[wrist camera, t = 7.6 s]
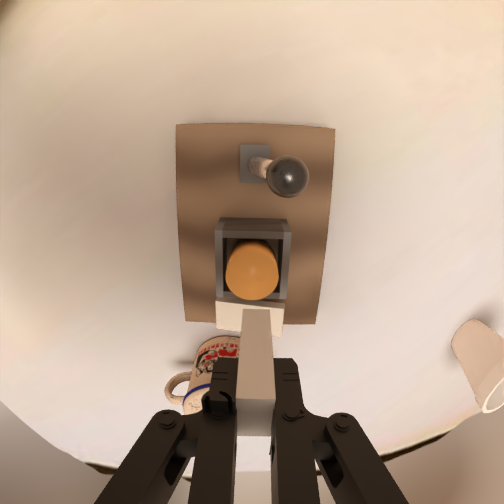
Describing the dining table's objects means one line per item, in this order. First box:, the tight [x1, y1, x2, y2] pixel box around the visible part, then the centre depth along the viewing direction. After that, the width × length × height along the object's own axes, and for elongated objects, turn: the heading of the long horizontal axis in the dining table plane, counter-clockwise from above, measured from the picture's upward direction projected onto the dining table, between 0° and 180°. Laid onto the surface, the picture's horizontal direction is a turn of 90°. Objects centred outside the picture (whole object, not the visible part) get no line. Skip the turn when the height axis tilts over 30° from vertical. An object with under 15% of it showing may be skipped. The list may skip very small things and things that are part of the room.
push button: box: [225, 239, 279, 300], centre depth 24 cm, size 4×4×3 cm
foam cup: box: [451, 319, 504, 413], centre depth 30 cm, size 10×9×13 cm
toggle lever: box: [248, 155, 309, 198], centre depth 19 cm, size 2×2×9 cm
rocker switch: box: [215, 297, 285, 337], centre depth 28 cm, size 3×6×1 cm, turn 89°
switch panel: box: [176, 123, 335, 324], centre depth 27 cm, size 20×14×6 cm
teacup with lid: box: [165, 336, 240, 415], centre depth 31 cm, size 12×9×12 cm
